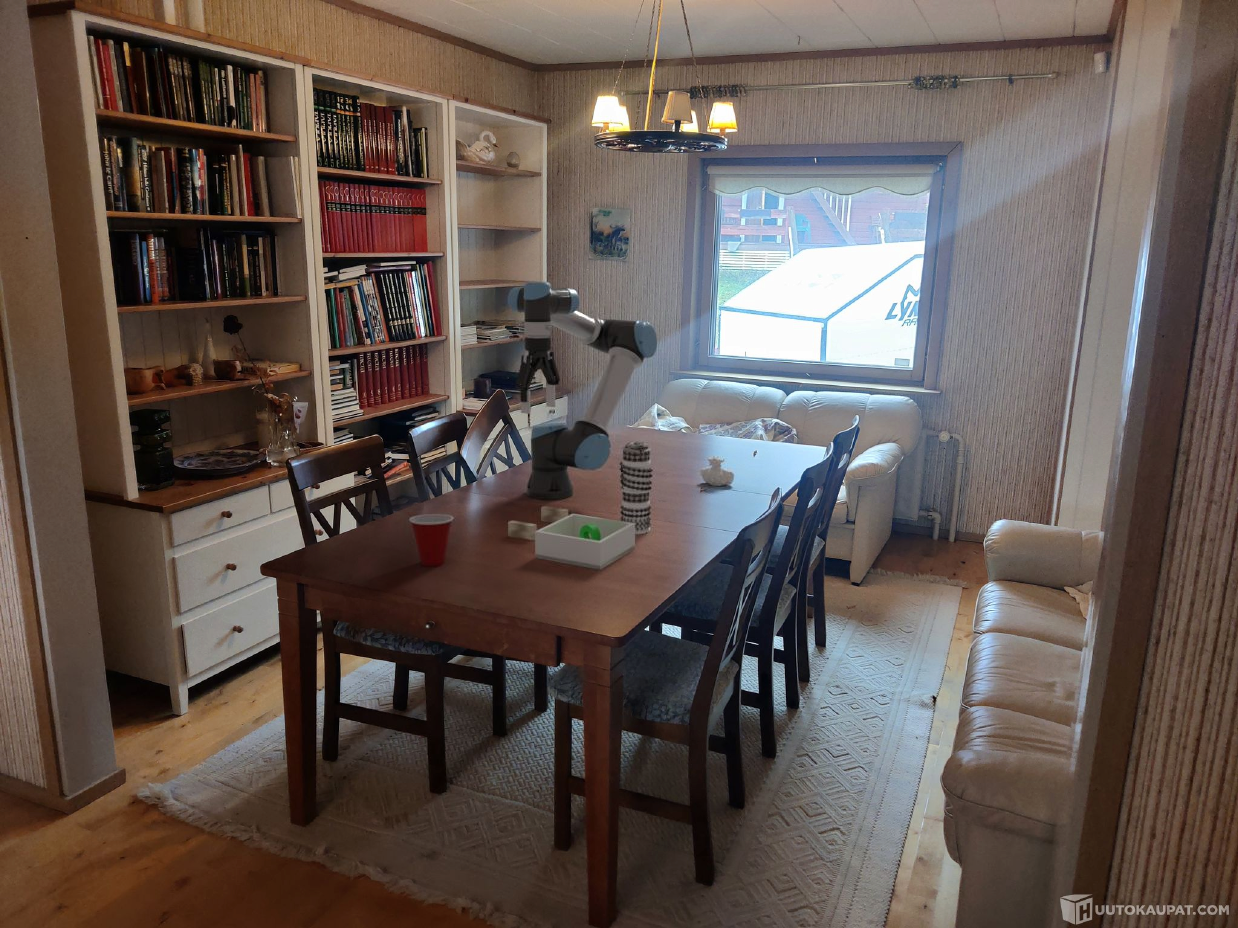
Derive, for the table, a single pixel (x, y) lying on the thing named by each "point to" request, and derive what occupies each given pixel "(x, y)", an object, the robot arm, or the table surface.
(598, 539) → the mechanical part
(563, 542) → the bin
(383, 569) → the table surface
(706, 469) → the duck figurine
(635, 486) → the decorative candle
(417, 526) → the plastic cup
